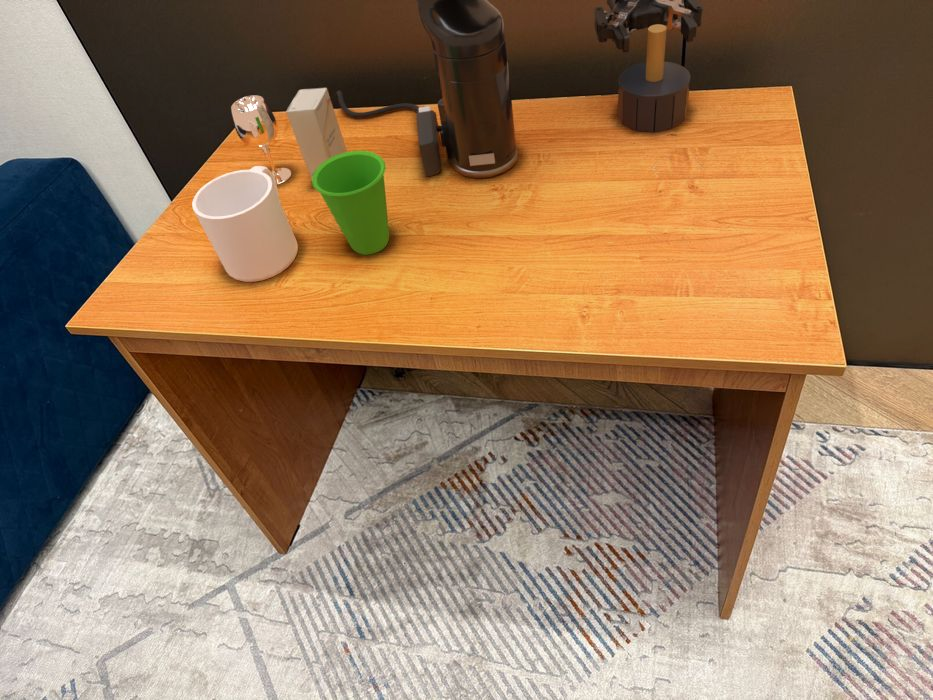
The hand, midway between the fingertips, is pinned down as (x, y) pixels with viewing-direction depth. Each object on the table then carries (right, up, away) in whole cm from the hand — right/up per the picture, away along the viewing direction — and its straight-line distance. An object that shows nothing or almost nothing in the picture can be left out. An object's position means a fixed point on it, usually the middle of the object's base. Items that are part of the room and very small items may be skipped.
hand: (658, 40), depth 93 cm
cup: (-38, -27, -1) cm, 47 cm away
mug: (-53, -28, +1) cm, 60 cm away
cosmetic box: (-46, -15, +11) cm, 49 cm away
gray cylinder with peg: (+2, -7, +10) cm, 12 cm away
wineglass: (-54, -15, +13) cm, 58 cm away
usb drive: (-33, -10, +9) cm, 35 cm away
